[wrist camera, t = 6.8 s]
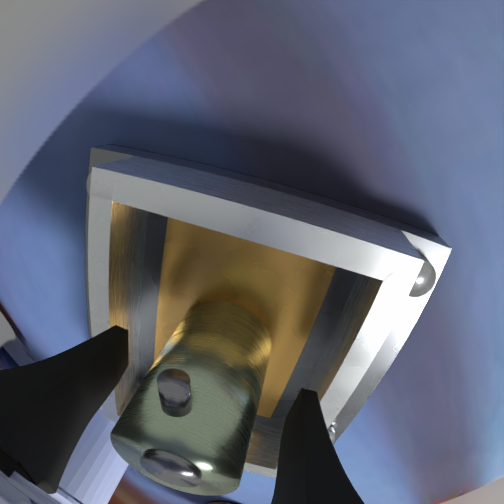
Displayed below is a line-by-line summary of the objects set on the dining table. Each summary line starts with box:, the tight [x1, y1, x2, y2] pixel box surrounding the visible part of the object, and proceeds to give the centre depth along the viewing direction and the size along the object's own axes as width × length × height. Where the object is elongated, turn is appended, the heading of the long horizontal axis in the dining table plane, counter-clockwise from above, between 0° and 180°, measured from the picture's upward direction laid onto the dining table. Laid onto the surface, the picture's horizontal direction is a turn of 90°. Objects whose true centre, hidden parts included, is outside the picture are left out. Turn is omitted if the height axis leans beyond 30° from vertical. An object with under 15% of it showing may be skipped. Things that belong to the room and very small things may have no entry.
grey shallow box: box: [85, 144, 452, 478], centre depth 14 cm, size 16×14×4 cm
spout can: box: [110, 301, 271, 496], centre depth 11 cm, size 4×6×7 cm
